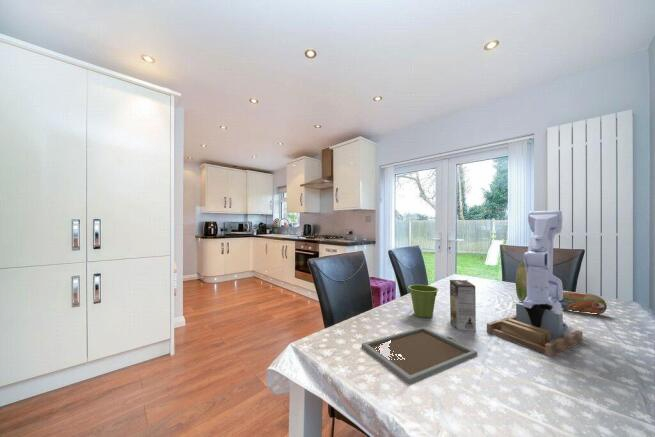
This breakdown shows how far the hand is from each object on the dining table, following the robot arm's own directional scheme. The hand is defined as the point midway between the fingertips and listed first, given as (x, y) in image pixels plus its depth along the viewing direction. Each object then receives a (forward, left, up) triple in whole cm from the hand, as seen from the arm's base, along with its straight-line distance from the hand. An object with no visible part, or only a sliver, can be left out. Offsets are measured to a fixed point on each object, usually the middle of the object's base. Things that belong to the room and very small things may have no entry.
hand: (538, 325), depth 82 cm
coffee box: (+17, -16, -3) cm, 24 cm away
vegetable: (-35, -20, -3) cm, 40 cm away
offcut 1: (+10, 0, -3) cm, 11 cm away
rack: (+4, 0, -3) cm, 5 cm away
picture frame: (+45, -10, -4) cm, 46 cm away
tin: (-43, -3, -3) cm, 43 cm away
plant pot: (+22, -30, -3) cm, 37 cm away
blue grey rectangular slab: (0, 0, -3) cm, 3 cm away
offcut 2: (+7, 0, -3) cm, 8 cm away
